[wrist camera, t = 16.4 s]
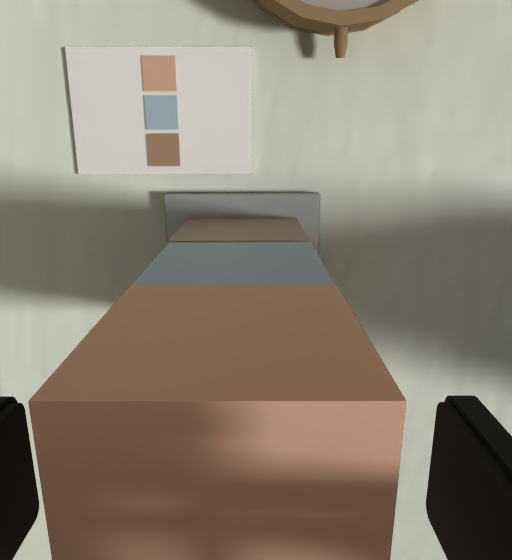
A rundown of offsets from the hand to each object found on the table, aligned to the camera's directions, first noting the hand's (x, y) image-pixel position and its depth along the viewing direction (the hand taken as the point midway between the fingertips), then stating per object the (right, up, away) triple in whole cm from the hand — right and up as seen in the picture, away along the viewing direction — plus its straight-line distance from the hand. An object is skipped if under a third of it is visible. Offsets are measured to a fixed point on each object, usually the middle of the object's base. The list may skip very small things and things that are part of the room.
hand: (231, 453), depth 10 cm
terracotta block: (0, +1, +3) cm, 3 cm away
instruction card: (-4, +12, +13) cm, 18 cm away
